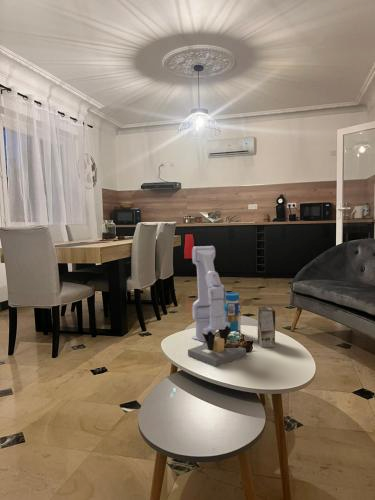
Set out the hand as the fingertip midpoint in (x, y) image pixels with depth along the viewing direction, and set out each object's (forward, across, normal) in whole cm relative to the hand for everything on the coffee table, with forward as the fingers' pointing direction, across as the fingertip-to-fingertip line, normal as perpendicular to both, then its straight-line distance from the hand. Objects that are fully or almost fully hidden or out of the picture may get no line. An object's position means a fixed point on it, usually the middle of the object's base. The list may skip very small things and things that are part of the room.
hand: (216, 347), depth 149 cm
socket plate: (+3, 0, 0) cm, 3 cm away
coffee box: (+4, +26, -6) cm, 27 cm away
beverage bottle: (+4, +26, +14) cm, 30 cm away
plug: (+3, 0, 0) cm, 3 cm away
